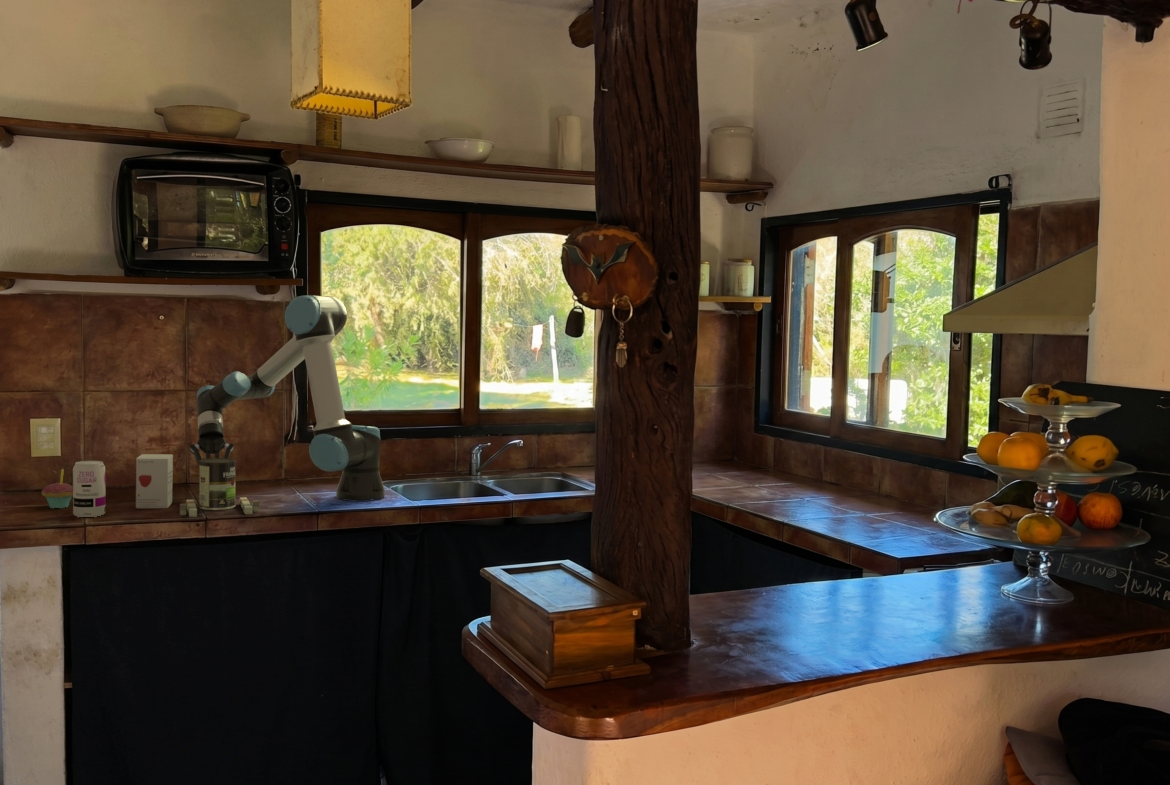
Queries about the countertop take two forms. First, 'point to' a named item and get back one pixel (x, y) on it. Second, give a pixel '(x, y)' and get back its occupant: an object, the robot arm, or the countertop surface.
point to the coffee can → (217, 483)
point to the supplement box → (154, 480)
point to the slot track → (243, 502)
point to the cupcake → (58, 493)
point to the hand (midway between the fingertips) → (214, 490)
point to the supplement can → (89, 489)
